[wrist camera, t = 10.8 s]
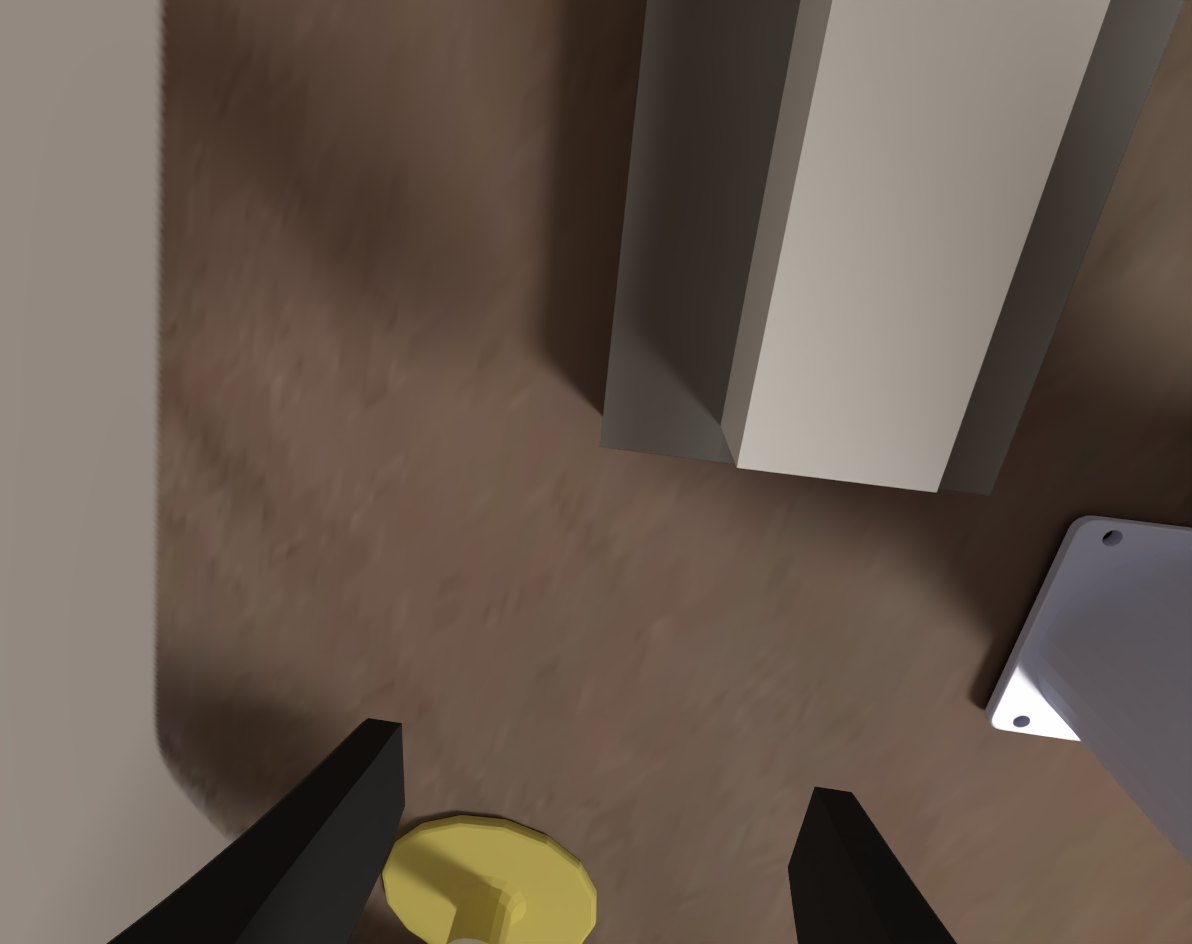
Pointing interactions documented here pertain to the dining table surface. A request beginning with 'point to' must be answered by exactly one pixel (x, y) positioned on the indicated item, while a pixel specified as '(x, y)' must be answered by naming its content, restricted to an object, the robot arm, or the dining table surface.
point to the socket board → (733, 205)
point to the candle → (488, 884)
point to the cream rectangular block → (895, 226)
